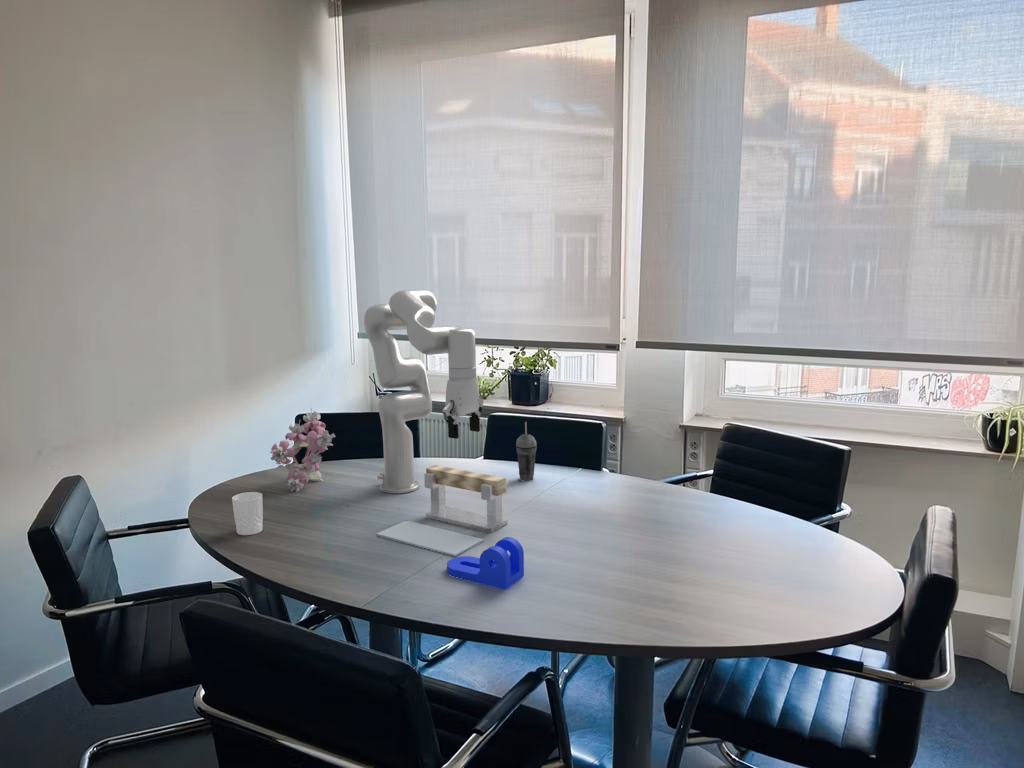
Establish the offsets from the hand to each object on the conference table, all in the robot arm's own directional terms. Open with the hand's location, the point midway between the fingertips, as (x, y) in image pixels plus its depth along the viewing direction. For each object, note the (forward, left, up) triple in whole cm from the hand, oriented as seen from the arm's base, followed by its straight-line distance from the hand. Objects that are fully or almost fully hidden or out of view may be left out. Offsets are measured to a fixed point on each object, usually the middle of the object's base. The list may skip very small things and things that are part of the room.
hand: (464, 434), depth 202 cm
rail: (0, 0, -15) cm, 15 cm away
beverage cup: (-7, +43, -25) cm, 51 cm away
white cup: (-46, -38, -25) cm, 65 cm away
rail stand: (0, 0, -25) cm, 25 cm away
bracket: (+25, -27, -26) cm, 45 cm away
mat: (0, -16, -25) cm, 30 cm away
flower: (-66, -2, -25) cm, 71 cm away
